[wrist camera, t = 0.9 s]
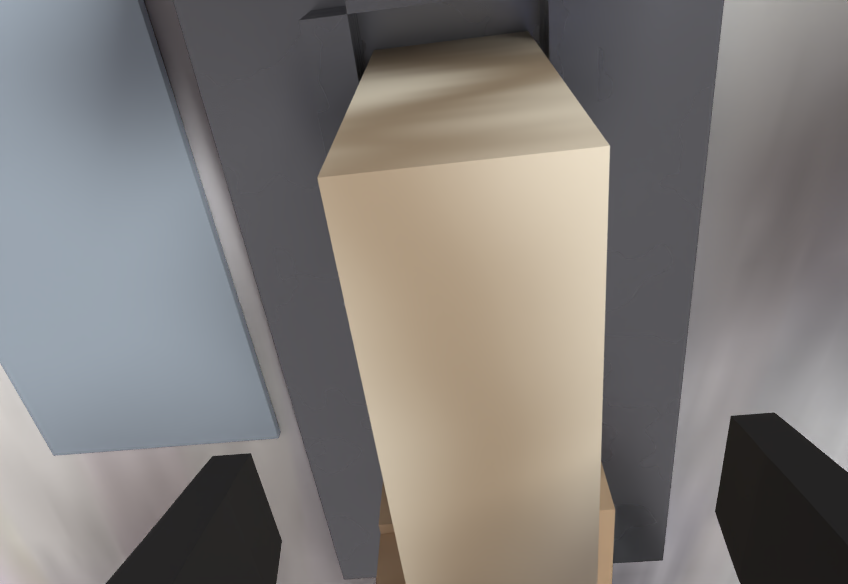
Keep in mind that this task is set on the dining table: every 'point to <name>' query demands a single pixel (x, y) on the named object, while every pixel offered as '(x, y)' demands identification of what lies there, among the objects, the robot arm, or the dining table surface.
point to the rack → (311, 244)
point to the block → (477, 305)
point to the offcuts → (390, 566)
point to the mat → (112, 244)
